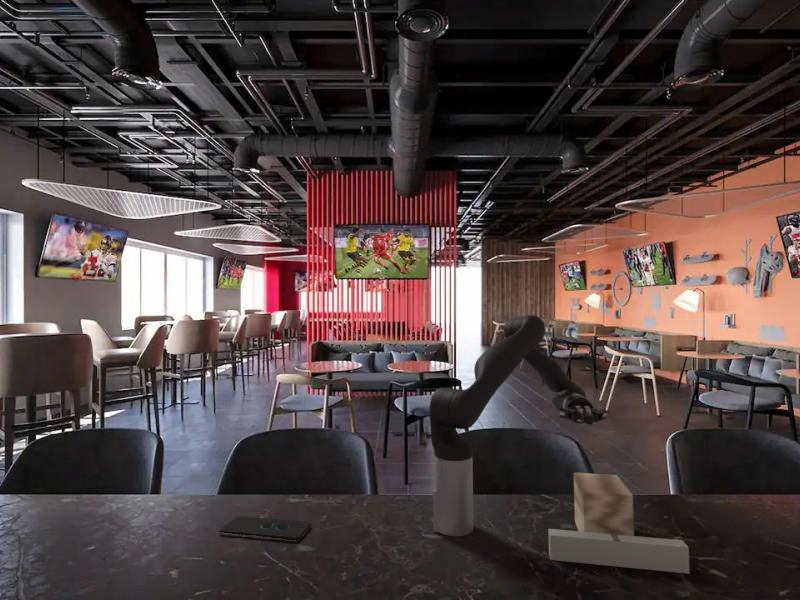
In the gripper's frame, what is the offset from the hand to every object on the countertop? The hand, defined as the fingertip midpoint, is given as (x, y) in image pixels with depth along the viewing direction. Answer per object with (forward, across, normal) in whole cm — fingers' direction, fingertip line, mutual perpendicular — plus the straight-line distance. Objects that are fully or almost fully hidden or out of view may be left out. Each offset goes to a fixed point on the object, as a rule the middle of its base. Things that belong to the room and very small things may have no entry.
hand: (589, 420), depth 116 cm
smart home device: (+25, -78, +24) cm, 86 cm away
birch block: (+12, 0, +24) cm, 27 cm away
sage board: (+24, 0, +24) cm, 34 cm away
